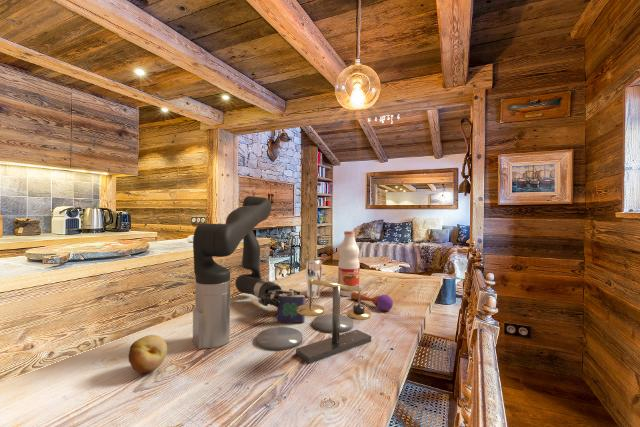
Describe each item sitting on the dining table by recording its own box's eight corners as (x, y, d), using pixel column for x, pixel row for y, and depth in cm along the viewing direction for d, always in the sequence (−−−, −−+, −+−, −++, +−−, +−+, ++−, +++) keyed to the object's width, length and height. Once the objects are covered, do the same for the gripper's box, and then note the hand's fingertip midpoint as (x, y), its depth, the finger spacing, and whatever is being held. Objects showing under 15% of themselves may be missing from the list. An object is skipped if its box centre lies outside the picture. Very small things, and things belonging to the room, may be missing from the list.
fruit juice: (350, 290, 144) (351, 230, 144) (363, 295, 136) (364, 232, 136) (333, 292, 139) (334, 230, 139) (346, 298, 131) (347, 232, 131)
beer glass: (319, 299, 129) (320, 263, 129) (303, 297, 131) (304, 262, 130) (322, 294, 136) (323, 260, 136) (307, 293, 138) (308, 259, 137)
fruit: (123, 382, 66) (124, 345, 66) (135, 363, 74) (135, 330, 74) (162, 377, 68) (163, 342, 68) (169, 360, 76) (170, 327, 76)
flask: (305, 320, 104) (305, 289, 104) (304, 324, 101) (304, 291, 101) (277, 320, 105) (278, 288, 104) (276, 323, 102) (276, 291, 101)
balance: (306, 366, 74) (307, 283, 74) (290, 354, 80) (292, 278, 80) (375, 340, 89) (376, 272, 89) (358, 332, 95) (359, 268, 95)
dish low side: (330, 336, 92) (330, 332, 92) (305, 322, 102) (305, 319, 102) (361, 326, 100) (361, 323, 100) (335, 315, 110) (335, 311, 110)
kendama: (359, 288, 133) (396, 296, 117) (358, 303, 132) (395, 312, 116) (349, 288, 129) (386, 295, 113) (347, 302, 128) (384, 312, 112)
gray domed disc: (270, 354, 80) (270, 350, 80) (249, 337, 90) (249, 333, 90) (311, 342, 88) (311, 338, 88) (287, 327, 98) (287, 323, 98)
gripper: (250, 284, 111) (271, 294, 99) (284, 279, 120) (308, 288, 107) (249, 304, 112) (271, 317, 99) (283, 298, 120) (307, 309, 107)
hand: (290, 302), depth 103 cm, fingers open, 8 cm apart
